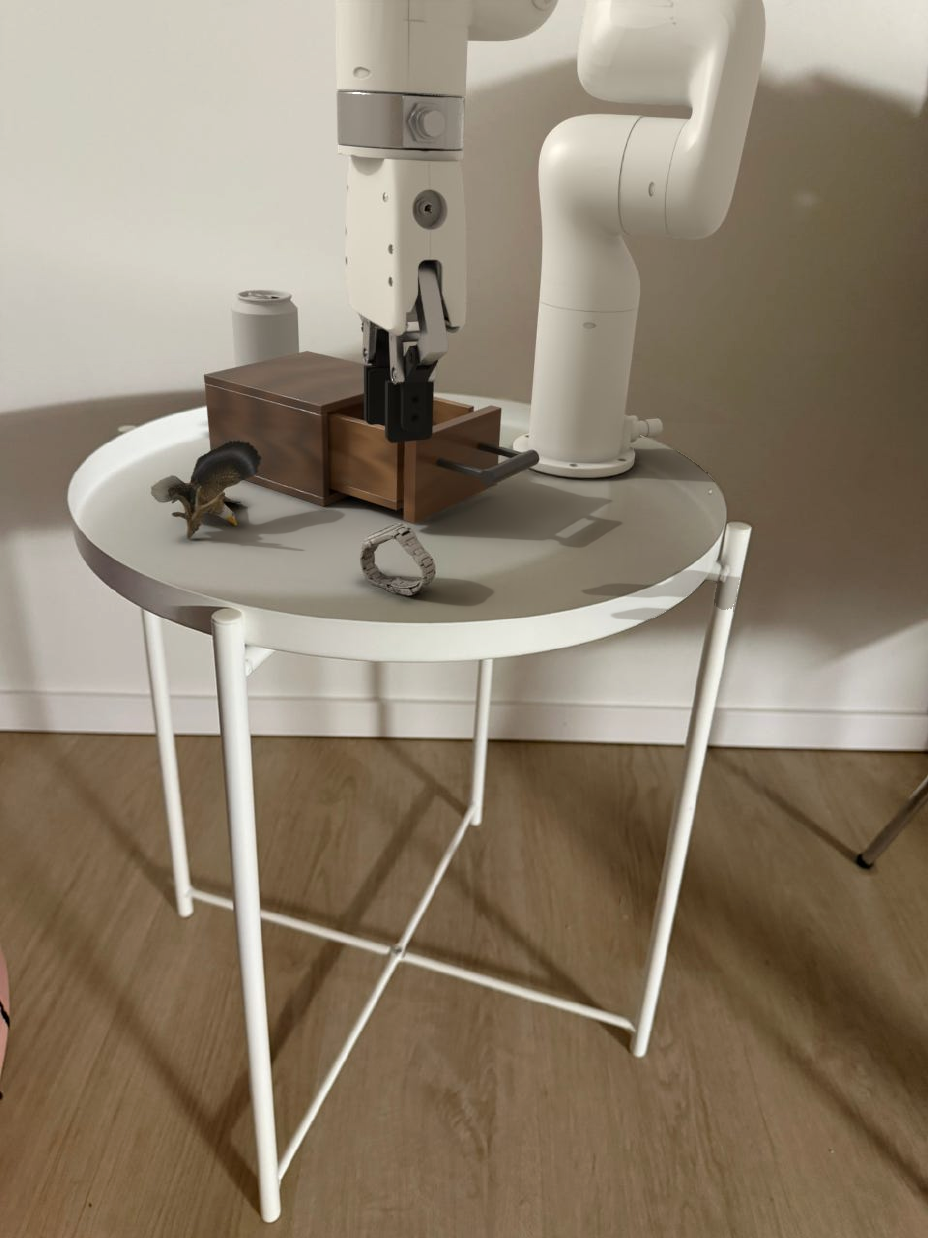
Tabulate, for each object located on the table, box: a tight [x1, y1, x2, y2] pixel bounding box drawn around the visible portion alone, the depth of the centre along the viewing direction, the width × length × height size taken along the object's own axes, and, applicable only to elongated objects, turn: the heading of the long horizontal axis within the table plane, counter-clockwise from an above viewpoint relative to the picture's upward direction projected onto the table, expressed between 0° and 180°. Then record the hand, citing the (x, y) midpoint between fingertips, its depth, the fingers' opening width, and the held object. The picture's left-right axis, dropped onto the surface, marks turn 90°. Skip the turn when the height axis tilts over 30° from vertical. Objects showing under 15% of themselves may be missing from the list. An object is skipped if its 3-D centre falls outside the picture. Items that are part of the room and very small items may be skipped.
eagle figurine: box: [150, 440, 261, 540], centre depth 79 cm, size 8×7×9 cm
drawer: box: [327, 396, 539, 524], centre depth 85 cm, size 19×12×7 cm, turn 54°
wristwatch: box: [359, 522, 436, 597], centre depth 70 cm, size 4×6×5 cm, turn 55°
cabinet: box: [203, 350, 367, 507], centre depth 91 cm, size 15×14×9 cm
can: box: [230, 289, 300, 368], centre depth 112 cm, size 8×8×12 cm
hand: (397, 428), depth 65 cm, fingers open, 3 cm apart
